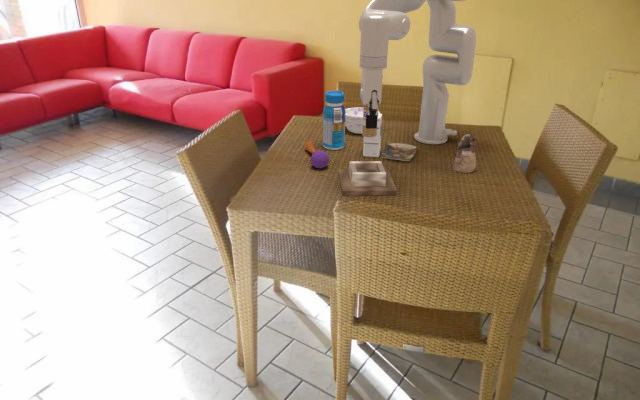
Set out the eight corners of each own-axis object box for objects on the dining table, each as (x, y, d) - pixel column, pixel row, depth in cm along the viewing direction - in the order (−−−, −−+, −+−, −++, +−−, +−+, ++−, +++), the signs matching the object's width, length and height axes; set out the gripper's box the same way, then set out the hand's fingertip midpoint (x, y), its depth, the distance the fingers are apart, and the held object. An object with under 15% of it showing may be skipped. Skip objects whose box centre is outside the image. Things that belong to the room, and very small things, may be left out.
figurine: (459, 163, 166) (465, 129, 160) (478, 169, 161) (484, 134, 156) (448, 168, 161) (453, 134, 156) (467, 175, 157) (473, 140, 151)
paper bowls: (367, 122, 204) (368, 104, 201) (386, 133, 192) (387, 114, 188) (335, 127, 199) (335, 108, 195) (352, 138, 187) (352, 119, 183)
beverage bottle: (318, 148, 177) (319, 94, 168) (327, 141, 184) (327, 89, 175) (340, 151, 174) (342, 97, 165) (348, 144, 181) (350, 91, 172)
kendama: (318, 138, 175) (332, 154, 157) (315, 154, 177) (329, 171, 159) (302, 136, 174) (314, 152, 156) (299, 152, 176) (311, 170, 158)
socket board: (387, 173, 157) (388, 157, 155) (396, 195, 143) (398, 178, 141) (338, 173, 157) (339, 157, 154) (342, 195, 142) (343, 178, 140)
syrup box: (379, 157, 169) (381, 117, 163) (362, 156, 170) (364, 116, 164) (380, 151, 174) (383, 112, 168) (364, 150, 175) (366, 111, 169)
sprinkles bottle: (358, 135, 143) (360, 90, 137) (367, 131, 146) (369, 87, 140) (371, 139, 140) (373, 93, 134) (380, 135, 143) (383, 90, 137)
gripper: (356, 55, 140) (354, 116, 149) (363, 68, 125) (360, 135, 134) (382, 55, 141) (378, 116, 149) (392, 68, 126) (387, 134, 134)
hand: (370, 124), depth 141 cm, fingers closed on sprinkles bottle, 4 cm apart
